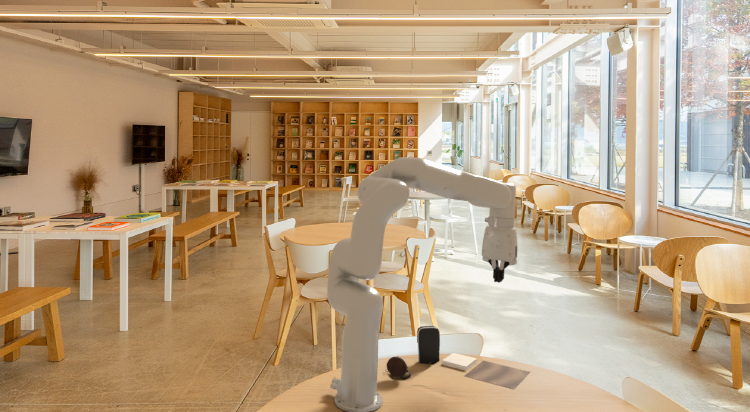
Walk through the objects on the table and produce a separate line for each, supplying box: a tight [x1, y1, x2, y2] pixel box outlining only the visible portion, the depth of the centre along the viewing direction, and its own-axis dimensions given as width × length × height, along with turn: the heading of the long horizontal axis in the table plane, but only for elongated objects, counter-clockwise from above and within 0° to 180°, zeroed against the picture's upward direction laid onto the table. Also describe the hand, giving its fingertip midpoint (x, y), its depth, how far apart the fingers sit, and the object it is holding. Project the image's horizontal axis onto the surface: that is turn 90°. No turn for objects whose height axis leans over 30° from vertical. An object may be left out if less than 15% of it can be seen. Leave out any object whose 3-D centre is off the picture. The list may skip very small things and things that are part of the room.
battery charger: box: [416, 325, 441, 365], centre depth 172 cm, size 7×4×11 cm, turn 98°
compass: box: [384, 355, 412, 380], centre depth 161 cm, size 8×8×7 cm
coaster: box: [441, 352, 478, 372], centre depth 168 cm, size 8×8×2 cm
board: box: [464, 360, 531, 390], centre depth 161 cm, size 15×15×2 cm
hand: (498, 281), depth 169 cm, fingers closed
